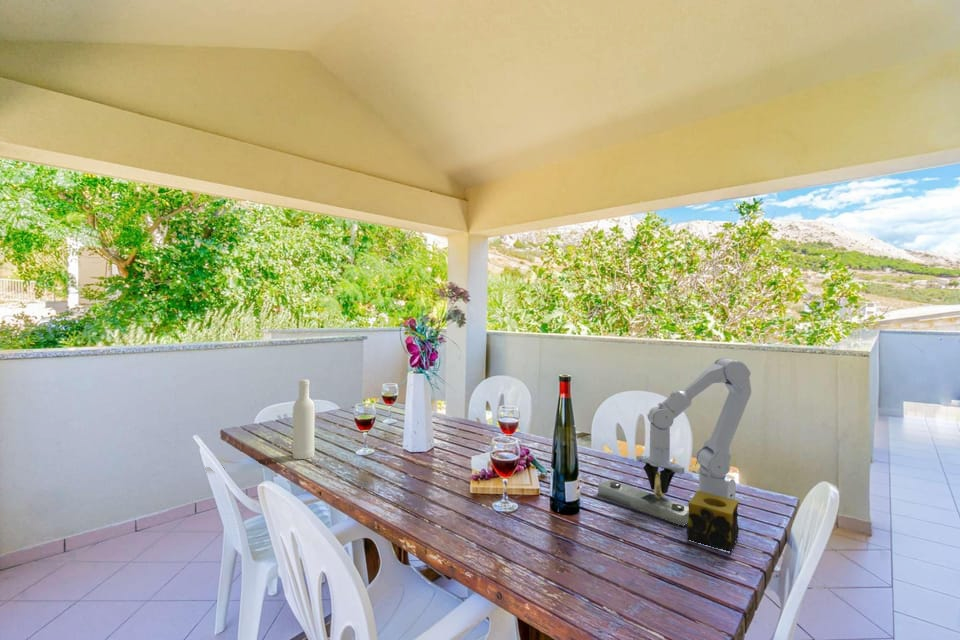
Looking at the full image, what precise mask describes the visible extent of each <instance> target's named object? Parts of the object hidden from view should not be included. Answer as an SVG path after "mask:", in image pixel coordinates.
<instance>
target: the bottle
mask: <svg viewBox="0 0 960 640" xmlns="http://www.w3.org/2000/svg"><path fill="white" fill-rule="evenodd" d="M310 384H311V383H310V380H309V379H300V380H299V382H298V391H299V392H298V399H296V401H295V402H294V404H293V406H292V458H293V459H294V460H297V459H304V460H308V459H307V458H309V459H312V458H313V457H314V456H315V449H316V447H315V422H316V421H315V417H316V416H315V413H316V411H315V410H316V409H315V407H316V406H315V403H314V401H313V400H312V399H311V397H310ZM311 457H312V458H311Z"/></svg>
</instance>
